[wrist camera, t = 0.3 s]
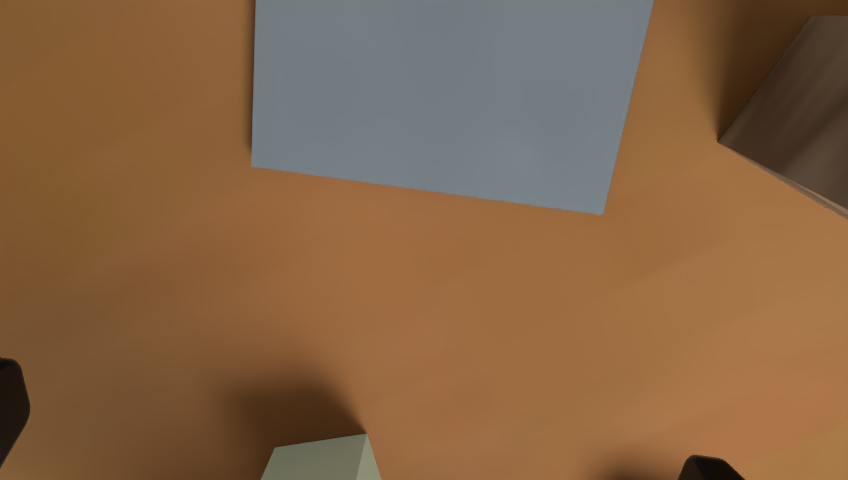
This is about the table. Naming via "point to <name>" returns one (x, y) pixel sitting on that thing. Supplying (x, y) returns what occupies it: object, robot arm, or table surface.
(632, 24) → the slate coaster
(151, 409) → the table surface
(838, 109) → the walnut pillar
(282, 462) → the pale green cube
